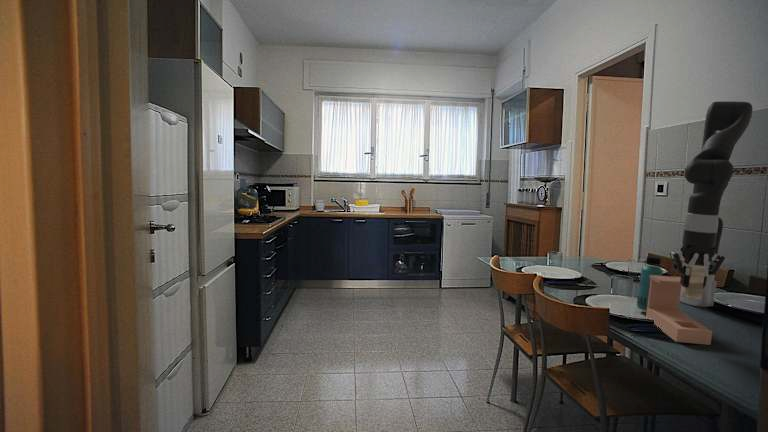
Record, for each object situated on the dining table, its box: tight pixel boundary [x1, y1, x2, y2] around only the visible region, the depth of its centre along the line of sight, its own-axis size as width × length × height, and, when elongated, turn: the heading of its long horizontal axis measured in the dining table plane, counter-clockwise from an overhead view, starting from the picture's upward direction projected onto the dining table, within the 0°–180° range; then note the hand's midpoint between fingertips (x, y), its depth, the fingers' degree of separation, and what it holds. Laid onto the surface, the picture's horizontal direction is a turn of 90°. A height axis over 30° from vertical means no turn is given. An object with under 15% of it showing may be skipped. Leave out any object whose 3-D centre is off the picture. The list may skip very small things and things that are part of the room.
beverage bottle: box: [636, 255, 664, 312], centre depth 138 cm, size 6×7×20 cm
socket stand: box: [645, 275, 713, 346], centre depth 123 cm, size 10×18×15 cm, turn 171°
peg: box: [681, 263, 706, 300], centre depth 117 cm, size 3×3×10 cm
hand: (692, 287), depth 117 cm, fingers closed on peg, 3 cm apart
